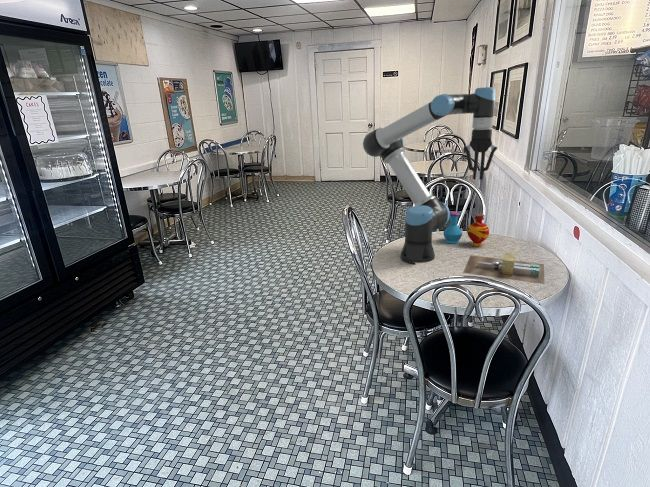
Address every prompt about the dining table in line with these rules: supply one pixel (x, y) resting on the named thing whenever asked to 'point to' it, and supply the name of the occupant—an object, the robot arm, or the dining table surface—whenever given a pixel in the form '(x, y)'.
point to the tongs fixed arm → (515, 271)
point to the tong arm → (517, 264)
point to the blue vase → (453, 229)
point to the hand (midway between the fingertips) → (477, 187)
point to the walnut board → (473, 269)
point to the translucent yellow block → (508, 263)
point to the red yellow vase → (478, 231)
